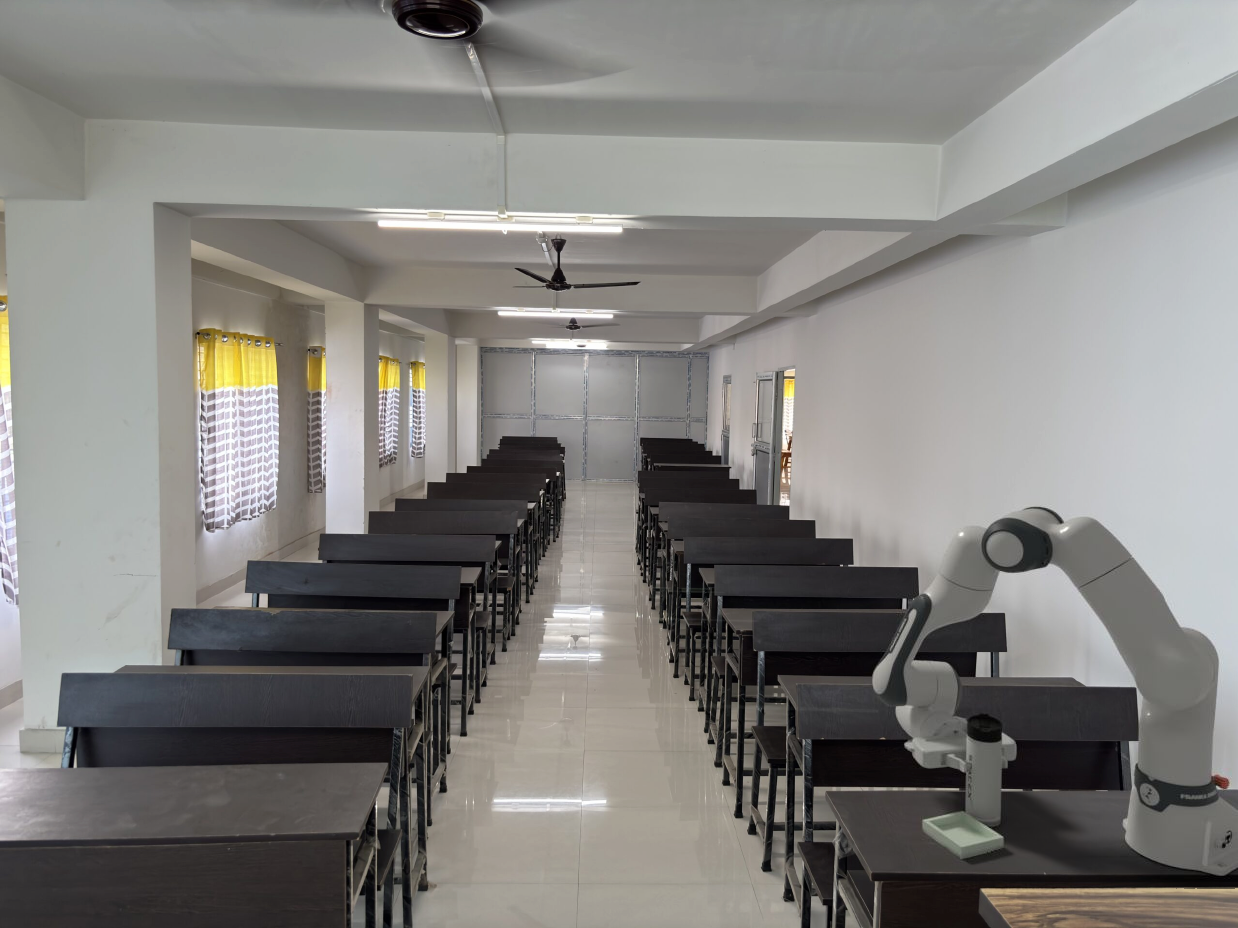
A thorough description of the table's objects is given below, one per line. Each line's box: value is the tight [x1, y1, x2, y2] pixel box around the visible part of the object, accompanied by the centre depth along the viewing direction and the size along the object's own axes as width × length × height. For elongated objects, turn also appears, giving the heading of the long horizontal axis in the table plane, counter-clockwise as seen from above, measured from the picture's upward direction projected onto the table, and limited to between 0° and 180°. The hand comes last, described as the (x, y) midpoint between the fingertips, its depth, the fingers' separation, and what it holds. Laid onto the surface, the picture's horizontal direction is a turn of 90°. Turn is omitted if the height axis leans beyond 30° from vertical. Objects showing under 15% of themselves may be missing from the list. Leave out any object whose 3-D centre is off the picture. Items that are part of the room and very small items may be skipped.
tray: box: [921, 810, 1005, 860], centre depth 157 cm, size 9×10×2 cm
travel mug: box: [964, 712, 1003, 828], centre depth 163 cm, size 6×7×20 cm
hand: (986, 766), depth 162 cm, fingers closed on travel mug, 6 cm apart
